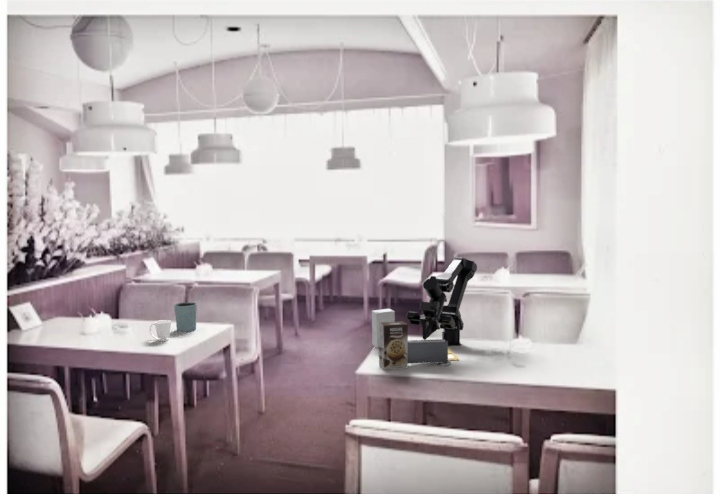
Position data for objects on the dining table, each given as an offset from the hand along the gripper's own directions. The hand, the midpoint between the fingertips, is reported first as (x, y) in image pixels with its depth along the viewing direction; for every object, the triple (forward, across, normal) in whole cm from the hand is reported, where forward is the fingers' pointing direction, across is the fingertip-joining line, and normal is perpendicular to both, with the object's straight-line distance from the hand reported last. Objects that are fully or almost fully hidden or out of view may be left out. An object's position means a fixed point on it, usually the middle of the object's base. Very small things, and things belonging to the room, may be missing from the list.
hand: (423, 339), depth 239 cm
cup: (+26, -111, -16) cm, 115 cm away
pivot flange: (+8, +10, +2) cm, 13 cm away
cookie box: (+16, -5, -6) cm, 18 cm away
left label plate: (+2, +8, +9) cm, 12 cm away
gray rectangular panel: (+10, +5, -1) cm, 11 cm away
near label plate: (-3, +2, +14) cm, 15 cm away
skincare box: (-1, -23, +12) cm, 26 cm away
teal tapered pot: (+12, -116, -2) cm, 117 cm away
